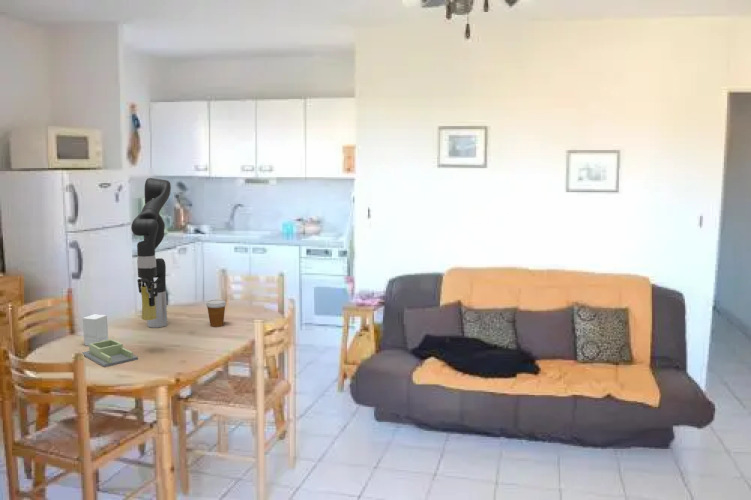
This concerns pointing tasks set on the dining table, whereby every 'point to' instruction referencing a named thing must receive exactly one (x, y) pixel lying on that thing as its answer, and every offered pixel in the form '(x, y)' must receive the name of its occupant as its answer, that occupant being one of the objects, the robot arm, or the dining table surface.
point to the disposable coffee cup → (216, 312)
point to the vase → (147, 306)
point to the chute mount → (109, 353)
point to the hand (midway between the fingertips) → (148, 304)
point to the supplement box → (95, 328)
